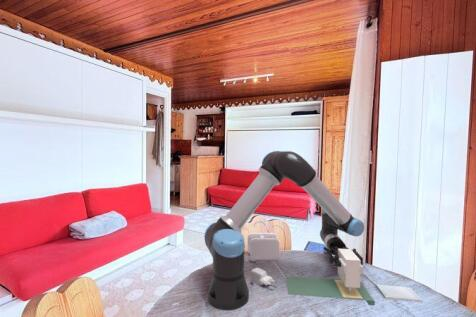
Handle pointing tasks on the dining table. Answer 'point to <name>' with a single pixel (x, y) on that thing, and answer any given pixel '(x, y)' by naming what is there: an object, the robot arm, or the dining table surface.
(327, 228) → the robot arm
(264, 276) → the power adapter
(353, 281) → the block
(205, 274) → the dining table surface
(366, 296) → the board
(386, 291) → the hard drive
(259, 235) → the cable organizer
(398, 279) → the dining table surface
